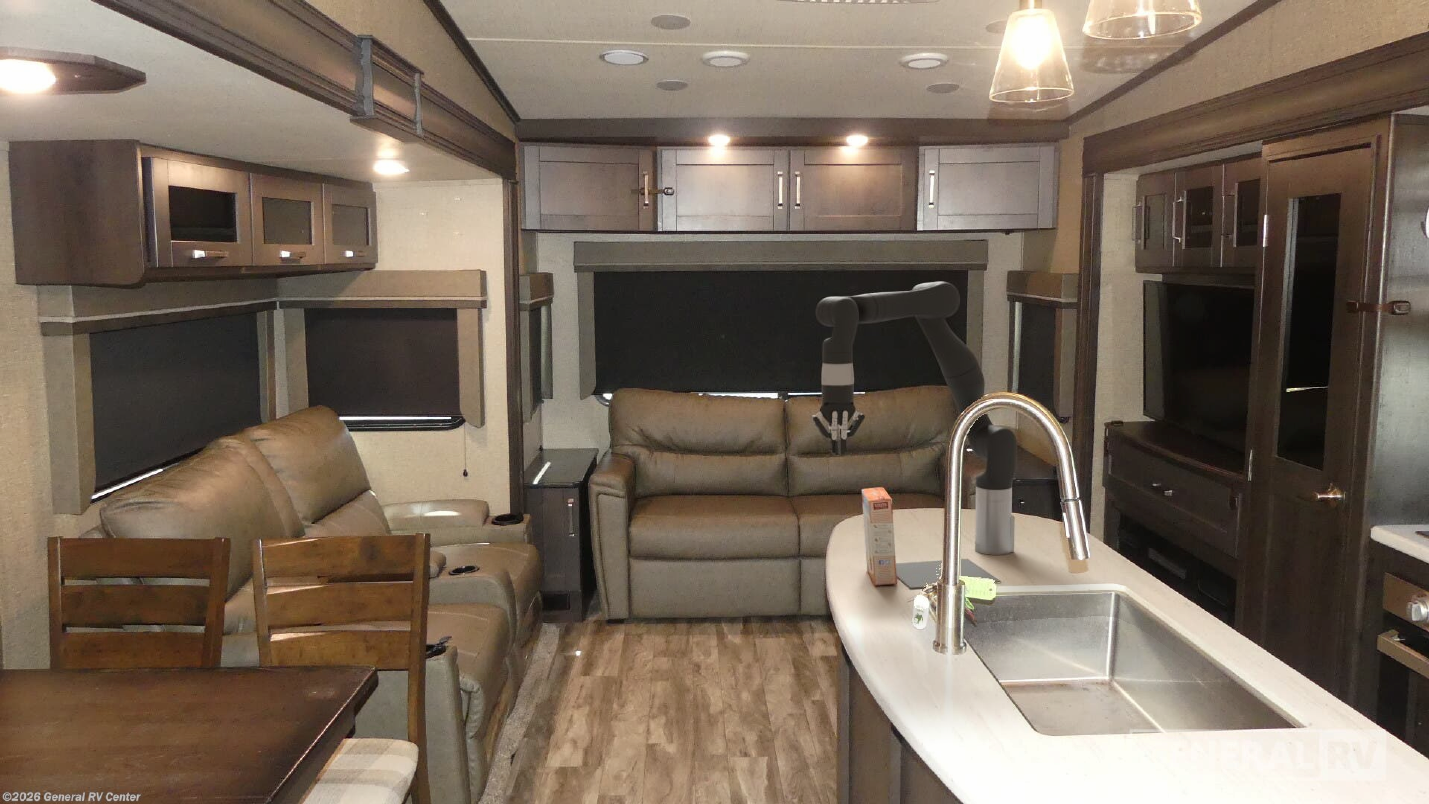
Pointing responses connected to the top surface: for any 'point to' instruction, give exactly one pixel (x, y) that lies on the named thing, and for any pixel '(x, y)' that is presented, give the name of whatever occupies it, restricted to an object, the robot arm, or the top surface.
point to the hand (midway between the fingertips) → (838, 454)
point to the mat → (934, 572)
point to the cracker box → (879, 536)
